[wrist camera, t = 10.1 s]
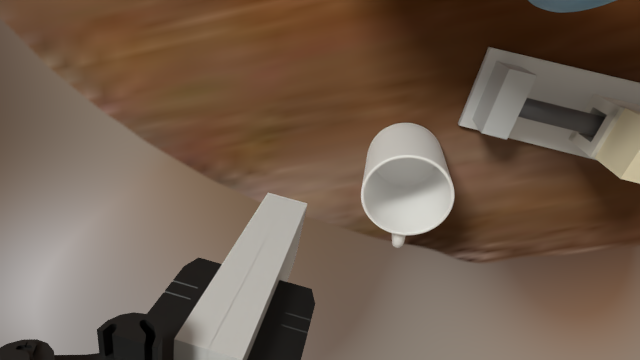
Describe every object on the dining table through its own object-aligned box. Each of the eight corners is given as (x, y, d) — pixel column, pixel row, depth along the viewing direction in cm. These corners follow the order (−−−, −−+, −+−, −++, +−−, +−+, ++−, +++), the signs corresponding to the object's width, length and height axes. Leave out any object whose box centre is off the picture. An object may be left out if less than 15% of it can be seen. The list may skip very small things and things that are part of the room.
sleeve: (568, 139, 37) (615, 177, 29) (593, 93, 35) (651, 122, 27) (609, 149, 37) (667, 190, 29) (637, 104, 34) (708, 136, 27)
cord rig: (457, 123, 40) (467, 142, 35) (488, 46, 36) (504, 55, 31) (647, 171, 39) (687, 198, 34) (699, 96, 35) (753, 114, 30)
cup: (447, 123, 40) (463, 160, 31) (430, 217, 46) (439, 271, 37) (370, 117, 42) (364, 151, 33) (362, 210, 47) (355, 260, 38)
